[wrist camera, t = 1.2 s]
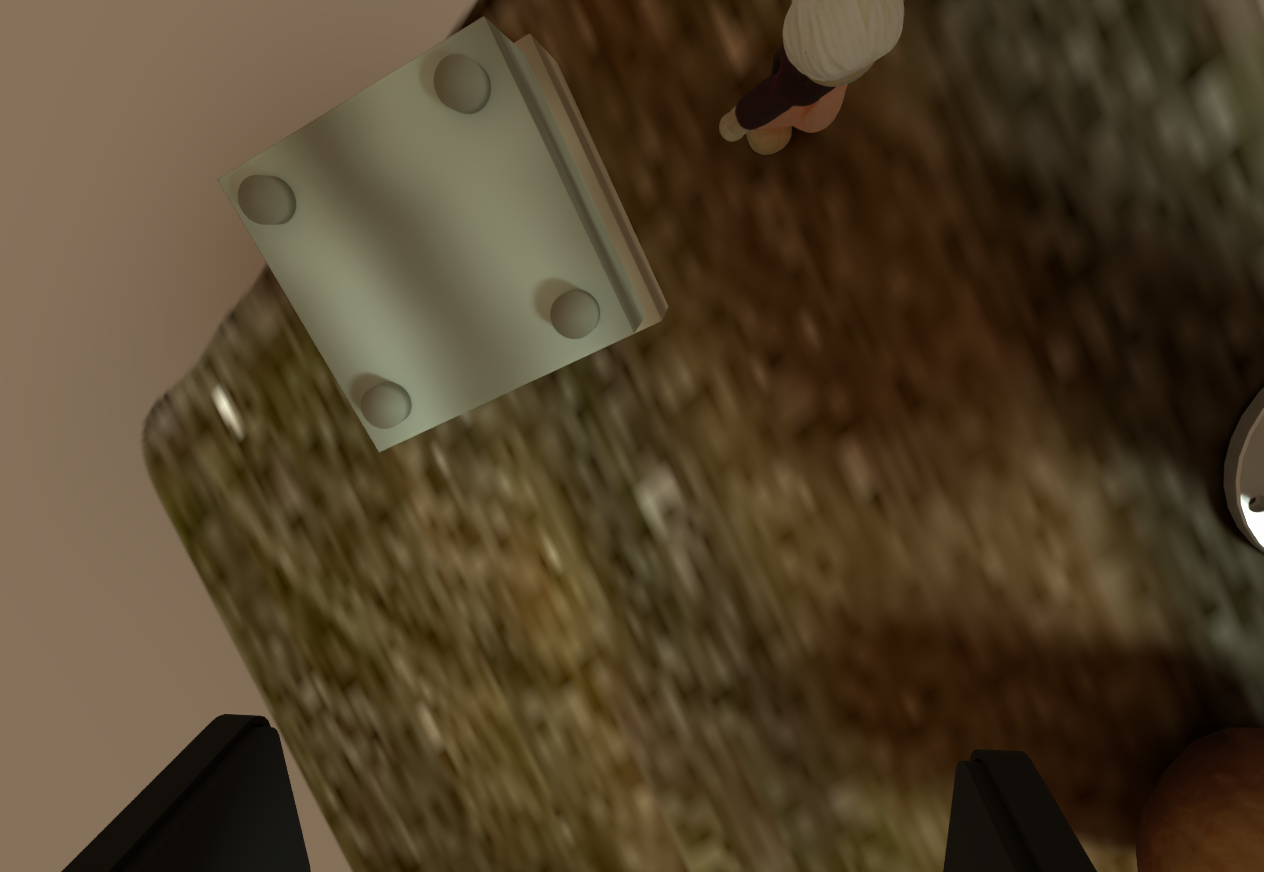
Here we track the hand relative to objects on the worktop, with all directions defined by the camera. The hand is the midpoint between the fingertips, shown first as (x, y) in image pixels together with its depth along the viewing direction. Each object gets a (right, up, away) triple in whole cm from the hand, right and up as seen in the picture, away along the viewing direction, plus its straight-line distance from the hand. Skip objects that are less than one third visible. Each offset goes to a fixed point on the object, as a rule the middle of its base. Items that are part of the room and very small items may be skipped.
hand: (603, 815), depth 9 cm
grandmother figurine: (+8, +20, +21) cm, 30 cm away
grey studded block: (-6, +14, +24) cm, 29 cm away
